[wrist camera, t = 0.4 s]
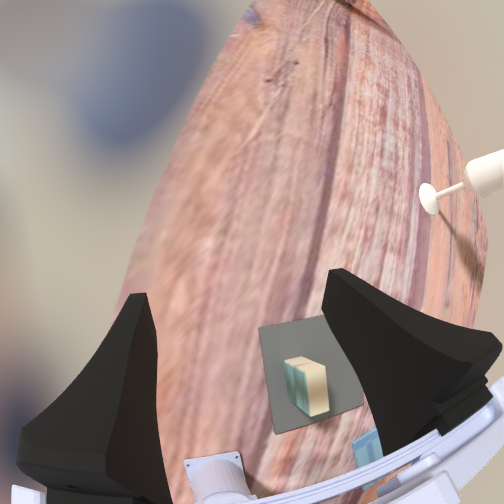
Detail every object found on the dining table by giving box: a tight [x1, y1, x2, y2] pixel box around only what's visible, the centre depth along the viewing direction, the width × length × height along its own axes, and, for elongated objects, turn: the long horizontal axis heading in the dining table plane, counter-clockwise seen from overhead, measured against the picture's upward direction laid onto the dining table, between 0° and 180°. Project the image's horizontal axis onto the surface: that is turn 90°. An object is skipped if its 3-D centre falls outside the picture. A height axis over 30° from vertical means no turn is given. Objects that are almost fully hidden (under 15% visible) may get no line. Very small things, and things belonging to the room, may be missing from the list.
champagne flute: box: [419, 149, 504, 215], centre depth 38 cm, size 7×7×24 cm
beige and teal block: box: [284, 356, 329, 417], centre depth 34 cm, size 6×3×7 cm, turn 9°
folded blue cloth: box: [351, 427, 386, 490], centre depth 40 cm, size 14×12×1 cm
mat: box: [258, 315, 364, 434], centre depth 39 cm, size 16×15×1 cm
